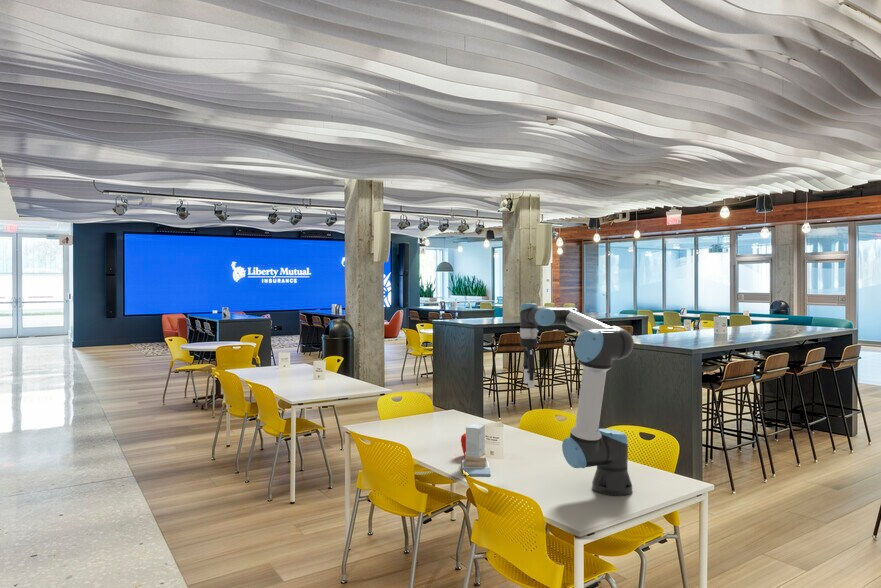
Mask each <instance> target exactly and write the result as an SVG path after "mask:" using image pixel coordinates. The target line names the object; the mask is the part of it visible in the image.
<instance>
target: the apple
mask: <svg viewBox="0 0 881 588" xmlns="http://www.w3.org/2000/svg"><path fill="white" fill-rule="evenodd" d="M460 443H461V448H462V449H461V450H462V453H463V455H464V456H465V452H466V432H465V433H463V434H462V435H461V437H460Z"/></svg>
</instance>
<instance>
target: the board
mask: <svg viewBox="0 0 881 588" xmlns="http://www.w3.org/2000/svg"><path fill="white" fill-rule="evenodd" d="M462 469H463V470H464V471H465V472H467V473H468V474H469V475H471V476H470V477H491V468H490V463H489V460H488V459H486V467H465V459H461V470H462Z"/></svg>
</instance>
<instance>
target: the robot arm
mask: <svg viewBox="0 0 881 588" xmlns="http://www.w3.org/2000/svg"><path fill="white" fill-rule="evenodd" d="M519 323H520V324H519V325H520V328H519V337H520V340H519V341H520V344H519V345H520V347H522V348H523V364H522V366H523V384H527V388H528V389H534V388H535V373H536V365H535V351H534V349H533V348H537V347H538V338H537V337H538V333H539V330H538V326H542V327H548V326H565V327H568V329H572V330H574V331H575V332H578V333H579V335H578V336H577V337H576V340H575V344H574V352H575V355H576V358H577V360H579V364H580V366H581V367H582V373H581V380H580V382H581V383H580V389H579V397H578V403H577V410H576V411H577V412H576V419H575V426H574V427H572V428H571V429H570V433H569V437H565V438H564V439H563V440H562V445H561V448H562V450H561V451H562V455H563V457H564V459H565V461H566V462H567V464H568V465H569V466H570V467H571V468H573V469H585V468H590V467H596V469H595V473H594V476H593V478H592V481H591V483H592V484H591V487H592V489H593V491H595V492H597V493H599V494H602V495H607V496H627V495H631V494H632V493H633V484H632V483H633V482H632V481H631V477H630V474H629V471H628V467H629V466H628V458H629V457H628V456H629V455H628V453H629V452H628V451H629V448H628V447H629V443H628V436H627V434H626V433H624V432H623V431H619V430H614V429H609V428H600V421H601V412H602V405H603V399H604V391H605V384H606V378H607V372H608V371H609V370H610V369H612V365H613V361H618V360H623V359H626V357H628V356H630V355H631V353H632V351H633V350H634V338H633V336H632V334H631V333H630V332H629V331H628V330H626V329H624V328H622V327H620V326H617V325H612V326H610V325H608V324H606V323H603V322H601V321H599V320H597V319H594V318H592V317H590V316H587V315H585V314H583V313H580V311H579V309H578V308H576V307H538V304H537V303H528V302H527V303H521V304H520V307H519Z"/></svg>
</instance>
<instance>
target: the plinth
mask: <svg viewBox="0 0 881 588" xmlns="http://www.w3.org/2000/svg"><path fill="white" fill-rule="evenodd" d="M464 460H465V467H486V460H487V455H486V452H485V453H484V454H483V455H482V456H481V457H479V458H475V457H466V452H465V455H464Z"/></svg>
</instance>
